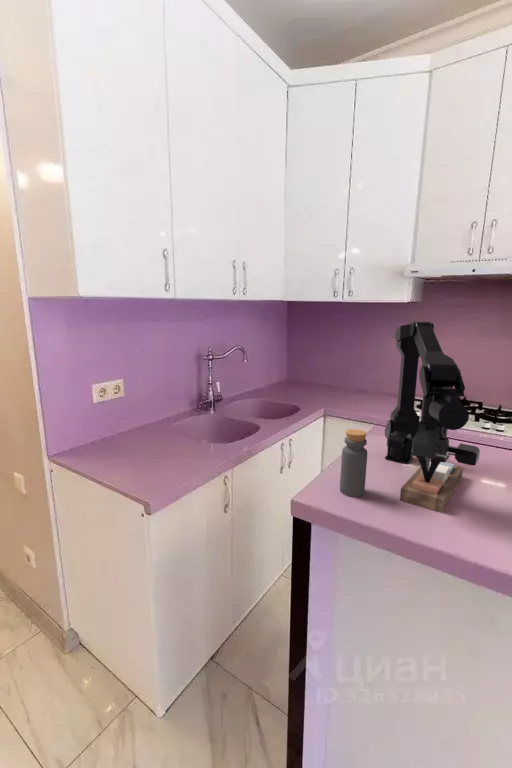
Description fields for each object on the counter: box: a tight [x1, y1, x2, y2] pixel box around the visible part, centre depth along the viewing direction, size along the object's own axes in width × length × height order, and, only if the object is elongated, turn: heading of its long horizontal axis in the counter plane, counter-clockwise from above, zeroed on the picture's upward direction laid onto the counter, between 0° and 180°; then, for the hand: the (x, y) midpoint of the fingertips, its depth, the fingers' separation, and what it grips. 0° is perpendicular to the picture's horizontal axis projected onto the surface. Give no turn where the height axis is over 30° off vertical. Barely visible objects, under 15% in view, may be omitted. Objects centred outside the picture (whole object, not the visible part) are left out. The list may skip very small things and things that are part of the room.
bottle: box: [339, 428, 368, 498], centre depth 91 cm, size 6×6×15 cm
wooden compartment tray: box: [399, 459, 464, 514], centre depth 94 cm, size 9×24×3 cm, turn 143°
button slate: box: [439, 461, 455, 475], centre depth 100 cm, size 5×5×4 cm
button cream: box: [420, 462, 450, 484], centre depth 94 cm, size 5×5×4 cm
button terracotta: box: [412, 475, 443, 495], centre depth 89 cm, size 5×5×4 cm
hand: (427, 481), depth 89 cm, fingers closed, pressing on button terracotta
